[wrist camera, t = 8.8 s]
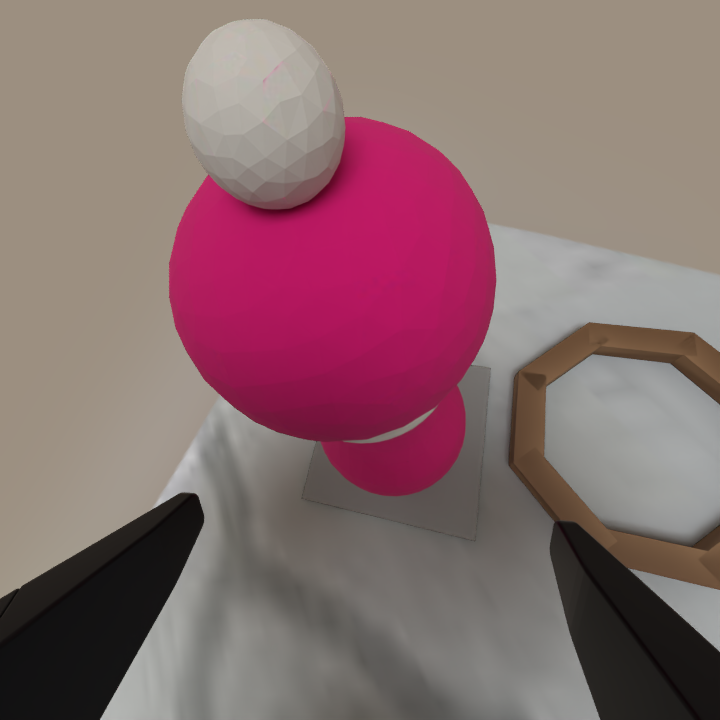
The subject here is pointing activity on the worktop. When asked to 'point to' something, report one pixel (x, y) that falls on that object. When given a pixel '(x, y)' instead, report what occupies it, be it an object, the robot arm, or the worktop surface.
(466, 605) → the worktop surface
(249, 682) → the worktop surface
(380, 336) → the pepper mill
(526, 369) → the walnut holder ring
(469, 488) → the slate mat
